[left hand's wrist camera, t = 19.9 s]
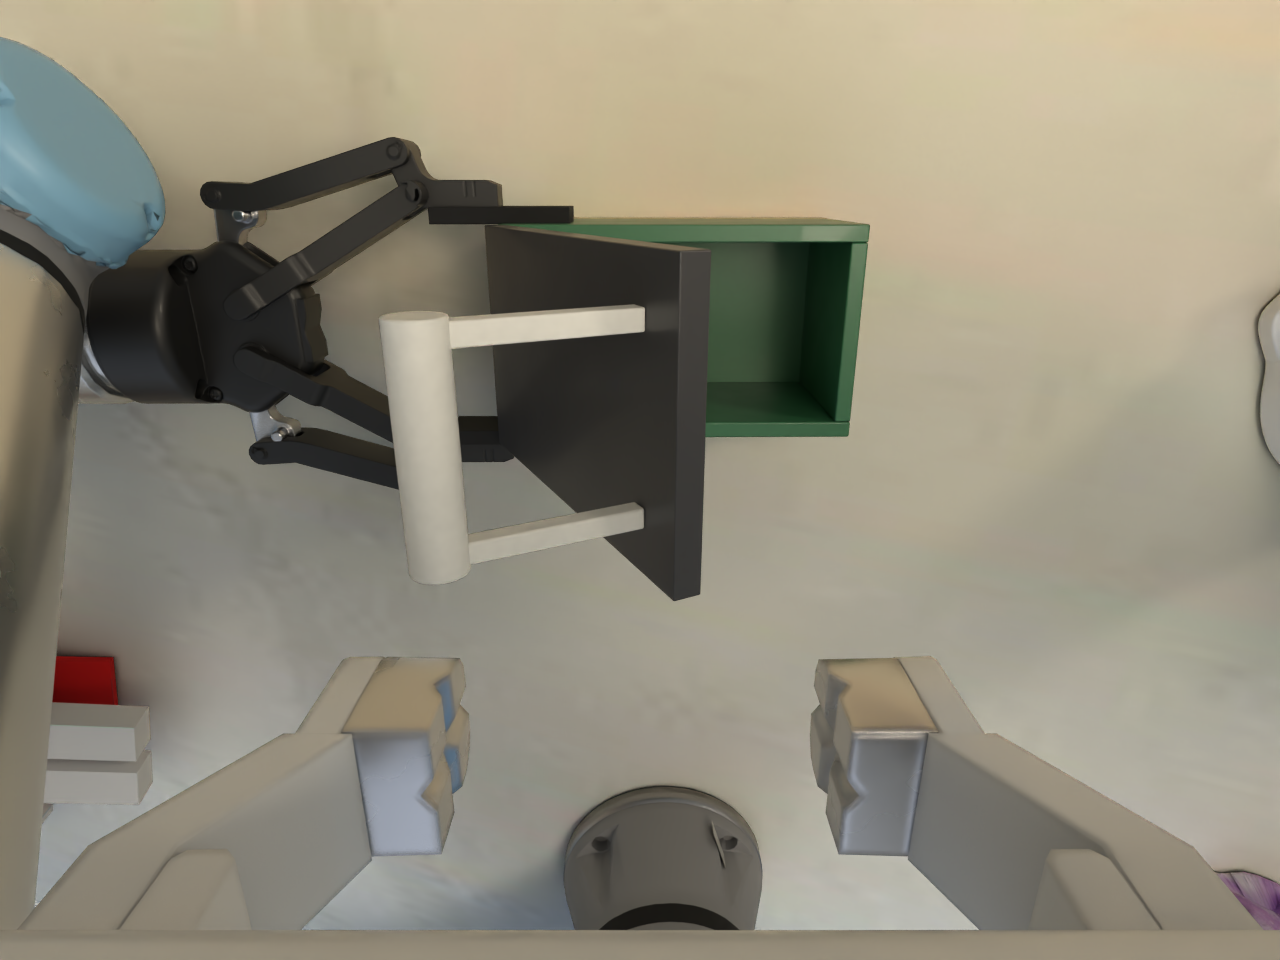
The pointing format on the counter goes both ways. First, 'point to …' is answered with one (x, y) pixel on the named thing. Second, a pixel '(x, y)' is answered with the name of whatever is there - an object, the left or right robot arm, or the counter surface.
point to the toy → (94, 739)
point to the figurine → (1256, 897)
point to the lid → (564, 403)
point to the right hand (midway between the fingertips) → (575, 327)
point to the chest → (769, 316)
